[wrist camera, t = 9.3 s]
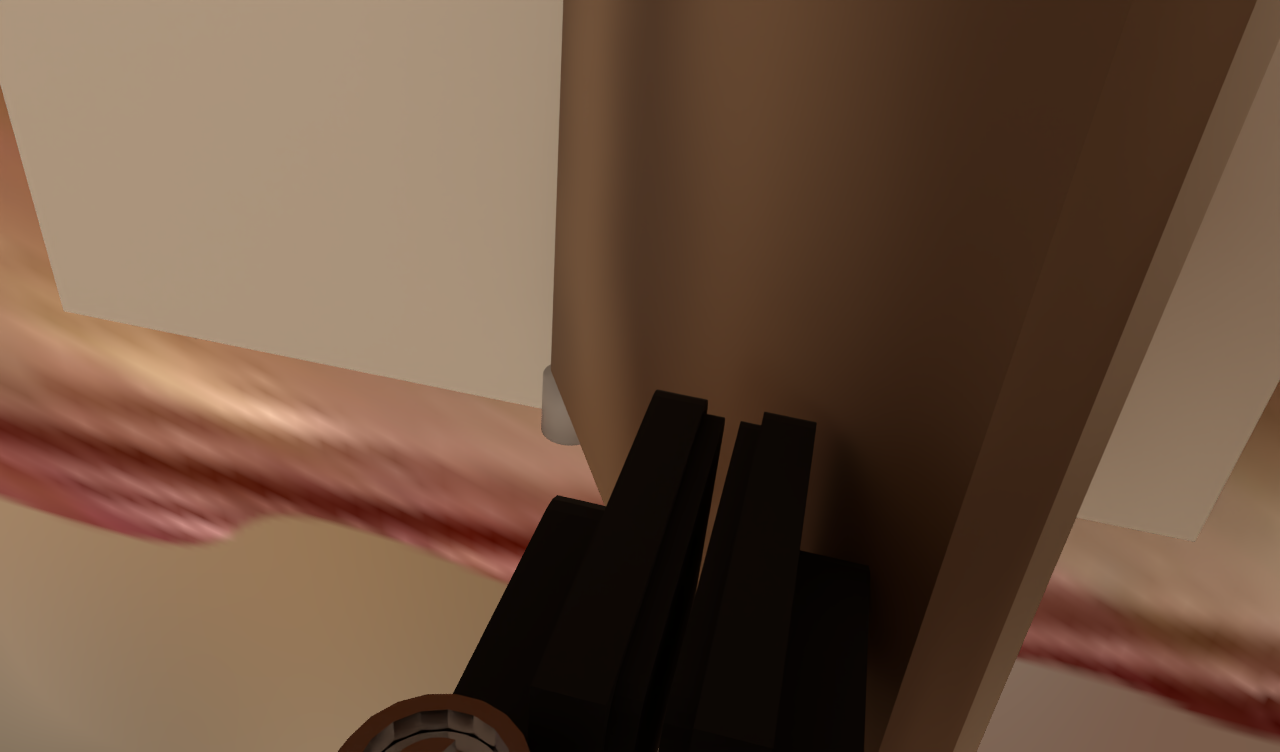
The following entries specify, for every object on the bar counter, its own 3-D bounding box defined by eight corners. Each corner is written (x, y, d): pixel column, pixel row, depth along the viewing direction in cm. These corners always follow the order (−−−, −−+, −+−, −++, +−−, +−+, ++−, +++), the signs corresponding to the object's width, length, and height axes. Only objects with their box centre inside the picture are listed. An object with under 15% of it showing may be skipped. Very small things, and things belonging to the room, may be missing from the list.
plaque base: (1590, -290, 14) (1693, -302, 13) (1184, 514, 23) (1209, 580, 21) (-96, -414, 19) (-207, -436, 17) (89, 295, 28) (28, 332, 26)
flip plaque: (571, -230, 16) (639, -224, 16) (550, 370, 23) (599, 365, 23) (1180, -142, 5) (1349, -131, 5) (798, 989, 11) (886, 963, 12)
